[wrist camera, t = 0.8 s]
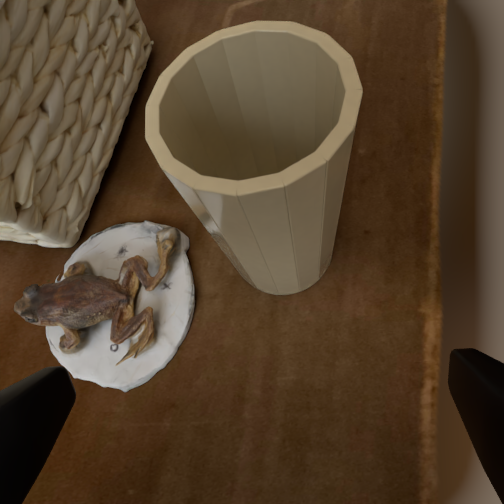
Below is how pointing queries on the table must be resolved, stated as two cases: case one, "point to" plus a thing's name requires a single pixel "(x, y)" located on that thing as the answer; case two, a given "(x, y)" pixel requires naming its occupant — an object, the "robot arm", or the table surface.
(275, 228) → the cup
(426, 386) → the table surface
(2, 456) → the robot arm
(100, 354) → the frog figurine
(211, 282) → the table surface
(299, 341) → the table surface
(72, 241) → the basket
